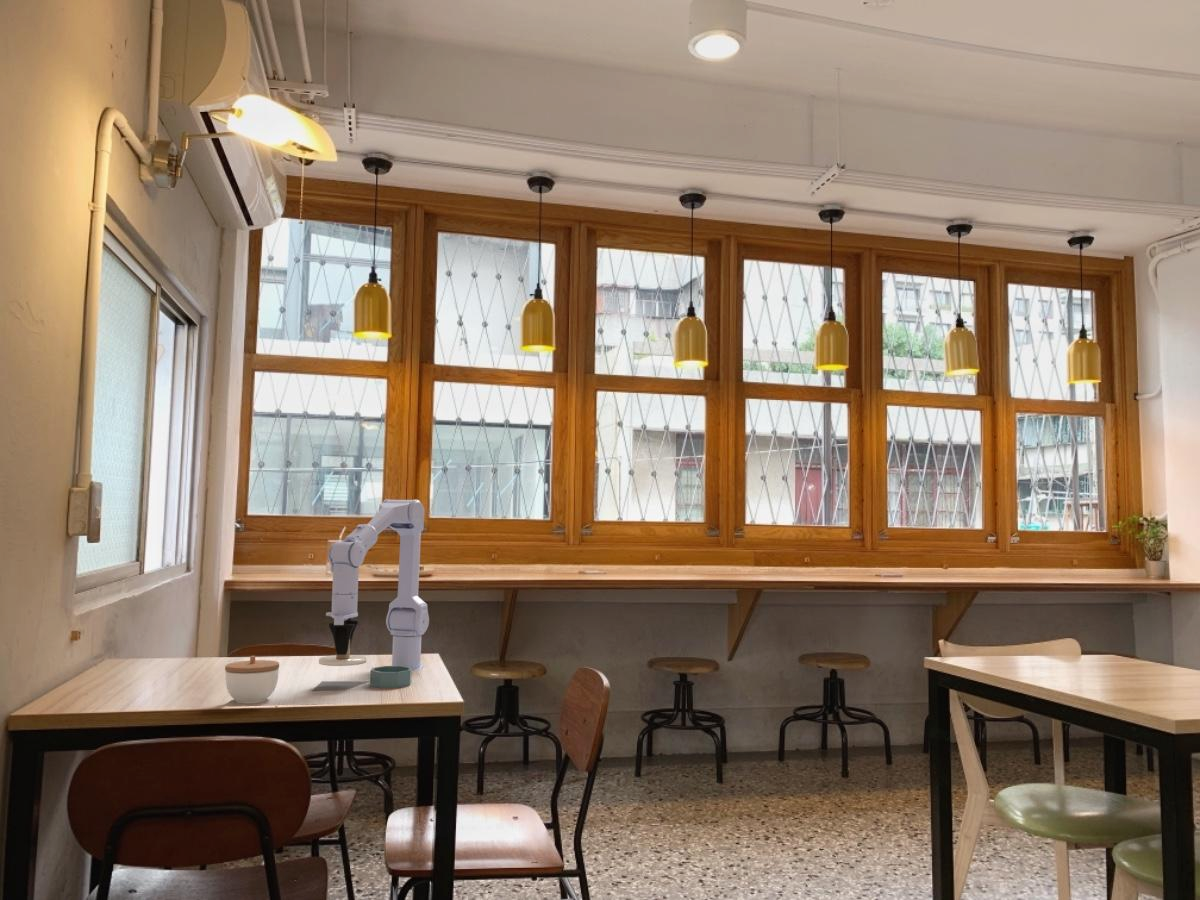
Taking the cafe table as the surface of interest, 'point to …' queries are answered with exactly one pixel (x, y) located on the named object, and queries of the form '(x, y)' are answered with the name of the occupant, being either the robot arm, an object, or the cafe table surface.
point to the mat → (337, 685)
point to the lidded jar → (251, 680)
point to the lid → (342, 659)
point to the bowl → (390, 676)
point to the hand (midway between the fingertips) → (342, 653)
